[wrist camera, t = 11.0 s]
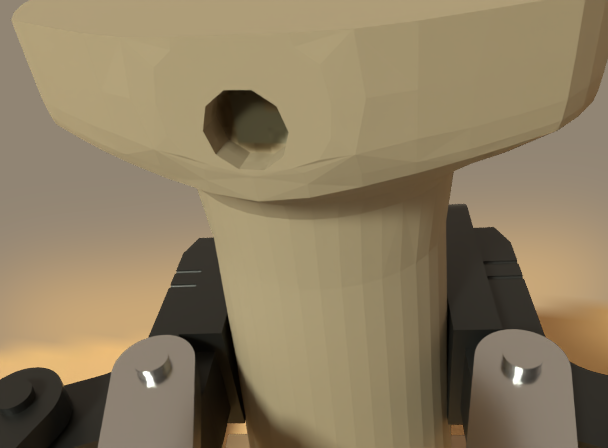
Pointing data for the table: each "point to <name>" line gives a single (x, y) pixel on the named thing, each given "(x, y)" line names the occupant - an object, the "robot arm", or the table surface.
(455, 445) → the tray
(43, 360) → the table surface
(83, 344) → the table surface
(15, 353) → the table surface
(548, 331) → the table surface
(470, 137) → the handle
